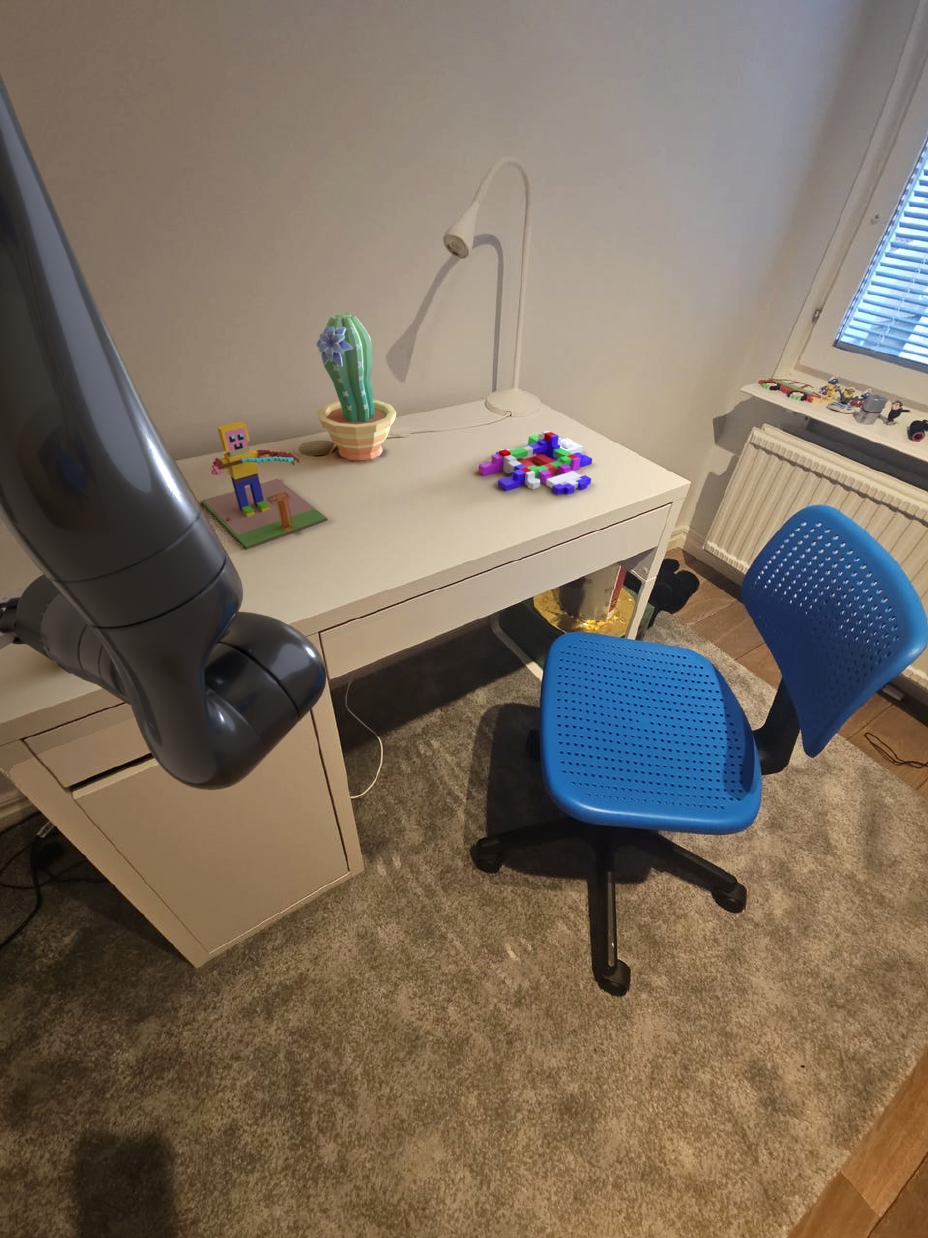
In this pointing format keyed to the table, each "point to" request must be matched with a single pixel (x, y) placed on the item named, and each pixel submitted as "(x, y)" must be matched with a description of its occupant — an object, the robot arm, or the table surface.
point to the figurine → (256, 493)
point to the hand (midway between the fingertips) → (9, 578)
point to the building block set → (544, 454)
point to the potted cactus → (352, 391)
